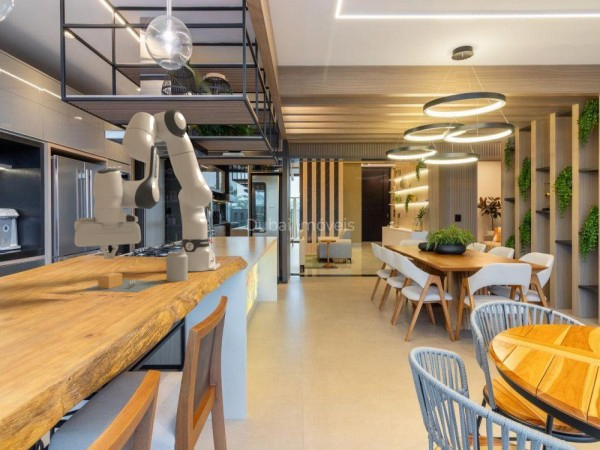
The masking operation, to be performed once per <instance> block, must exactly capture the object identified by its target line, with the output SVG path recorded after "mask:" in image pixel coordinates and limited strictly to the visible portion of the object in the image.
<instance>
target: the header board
mask: <svg viewBox="0 0 600 450" xmlns="http://www.w3.org/2000/svg"><path fill="white" fill-rule="evenodd" d="M166 282H167V283H168V281H167V280H165V281H164V280H143V279H142V280H138V279H122V285H121V286H117V287H113V288H109V289H108V288H98V284H97V285H93V286H91V287H87V288H83V289H82V291H89V292H90V291H91V292H92V291H93V292H114V293H115V292H116V293H117V292H118V293H140V292H142V291H145V290H148V289H151V288H153V287H156V286H159V285H161V284H164V283H166ZM80 296H83V294H80ZM98 296H102V297H103V296H106V297H107V295H103V294H102V295H98ZM123 297H128V298H131V297H132V296H127V295H125V296H123Z"/></svg>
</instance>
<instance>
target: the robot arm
mask: <svg viewBox="0 0 600 450" xmlns="http://www.w3.org/2000/svg"><path fill="white" fill-rule="evenodd" d="M187 125H188V124H187V121H186V118H185V116H184V115H183V113H181V111H179V109H168V110H166V111H162V112H157V113H155V114H153V115H152V114H150V113H148V112H142V111H139V112H137V113H135V114H134V115H133V116H132V117H131V119H130V120H129V122H128V125H127V126H126V128H125V131H124V134H123V138H122V147H123V150H124V151H125V152H126V154H127V155H128V156H129V157H131V158H132V159H134V160H136V161H139V162H143V163H145V169H144V178H142V179H141V180H125V179H123V178H122V172H121V170H119V169H116V168H113V169H112V168H108V169H107V168H106V169H105V168H104V169H103V168H102V169H99V170H97V171H96V172H95V173H94V178H93V188H92V189H93V191H92V192H93V193H92V194H93V198H94V205H93V217H80V218H78V219H76V220H75V221H74V223H73V226H74V227H73V228H74V231H75V232H74V245H75V246H76V247H77V248H83V247H84V248H85V247H99V249H100V250H101V252H102V253H103V258H104V260H111V259H115V258H116V253H117V251H118V249H119V245H133V244H139V243H140V242H141V241H142V235H141V234H142V233H141V227H140V225H139V223H138V222H139V217H138V216H137V215H134V214H130V213H127V212H124V208H125V209H145V210H151V209H153V208H154V207H155V206H157V205H158V203H159V202H160V198H161V197H160V195H161V194H160V171H161V155H160V152H159V151H160V150H159V148H157V146H155V144H156V143H162V142H165V145H166V150H167V154H168V157H169V160H170V164H171V166H172V170H173V173H174V175H175V177H176V179H177V181H178V183H179V184H180V186H181V189H180V191H179V193H178V201H179V210H180V216H181V222H182V224H181V225H182V226H181V227H182V239H181V243H180V244H181V247H182V248H181V249H180V250H179V251H185V252H186V253H185V254H186V255H187V256H188V272H206V271H215V270H217V269H218V268H220V266H221V263H220V262H219V263H216V253H214V251H213V250H212V248H211V247H210V243H212V239H211V238H208V220H207V216H206V212H205V207H207V206H208V205H209V204H211V202H212V198H213V192H212V190H211V188H210V187H209V185H208V184H207V182H206V179H205V177H204V175H203V173H202V171H201V168H200V166H199V163H198V160H197V159H198V158H197V156H196V153H195V150H194V146H193V144H192V142H191V139H190V137H189V135H188V133H187V132H186V131H187V127H188V126H187ZM108 246H111V248H112V250H111V252H108V251H107V250H106V249H108Z"/></svg>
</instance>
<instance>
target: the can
mask: <svg viewBox="0 0 600 450" xmlns="http://www.w3.org/2000/svg"><path fill="white" fill-rule="evenodd" d="M167 253H168V254H167V255H166V259H165V260H166V261H165V262H166V269H165V270H166V271H165V272H166V281H167V282H173V283H174V282H175V283H177V282H185V281H188V280H189V276H188V275H189V273H188V272H189V271H188V256H187V255H186V254H185V253H186V252H185V251H180V250H177V251H176V250H175V251H168V252H167Z"/></svg>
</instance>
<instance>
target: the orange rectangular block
mask: <svg viewBox="0 0 600 450" xmlns="http://www.w3.org/2000/svg"><path fill="white" fill-rule="evenodd" d="M122 280H123V273H119V272H117V273H116V272H110V273H106V274H100V275H97V285H98V288H108V289H109V288H113V287H117V286H121V285H122Z"/></svg>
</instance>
